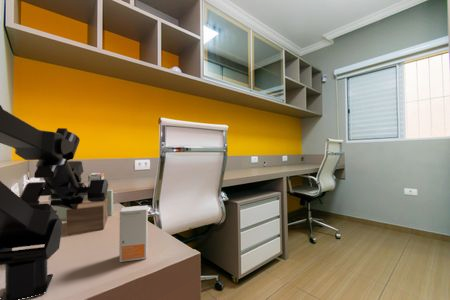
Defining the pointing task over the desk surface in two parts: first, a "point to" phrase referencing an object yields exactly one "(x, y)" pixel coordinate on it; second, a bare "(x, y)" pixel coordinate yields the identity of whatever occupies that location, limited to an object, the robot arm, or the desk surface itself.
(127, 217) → the skincare box
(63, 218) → the sage board
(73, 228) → the walnut block
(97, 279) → the desk surface
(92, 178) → the candy bar box
